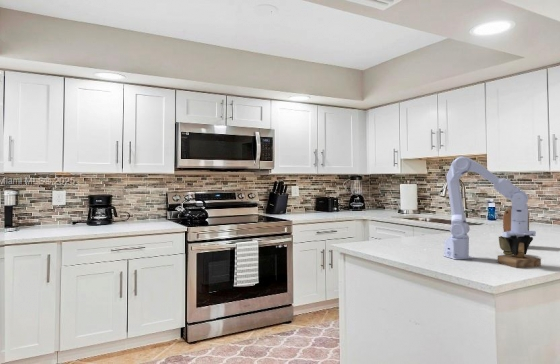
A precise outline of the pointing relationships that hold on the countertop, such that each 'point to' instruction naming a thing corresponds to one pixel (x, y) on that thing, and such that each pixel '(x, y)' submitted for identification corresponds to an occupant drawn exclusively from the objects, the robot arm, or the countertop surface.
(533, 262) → the board
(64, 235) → the countertop surface
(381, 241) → the countertop surface
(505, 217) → the block
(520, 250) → the peg
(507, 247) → the cup
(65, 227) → the countertop surface
